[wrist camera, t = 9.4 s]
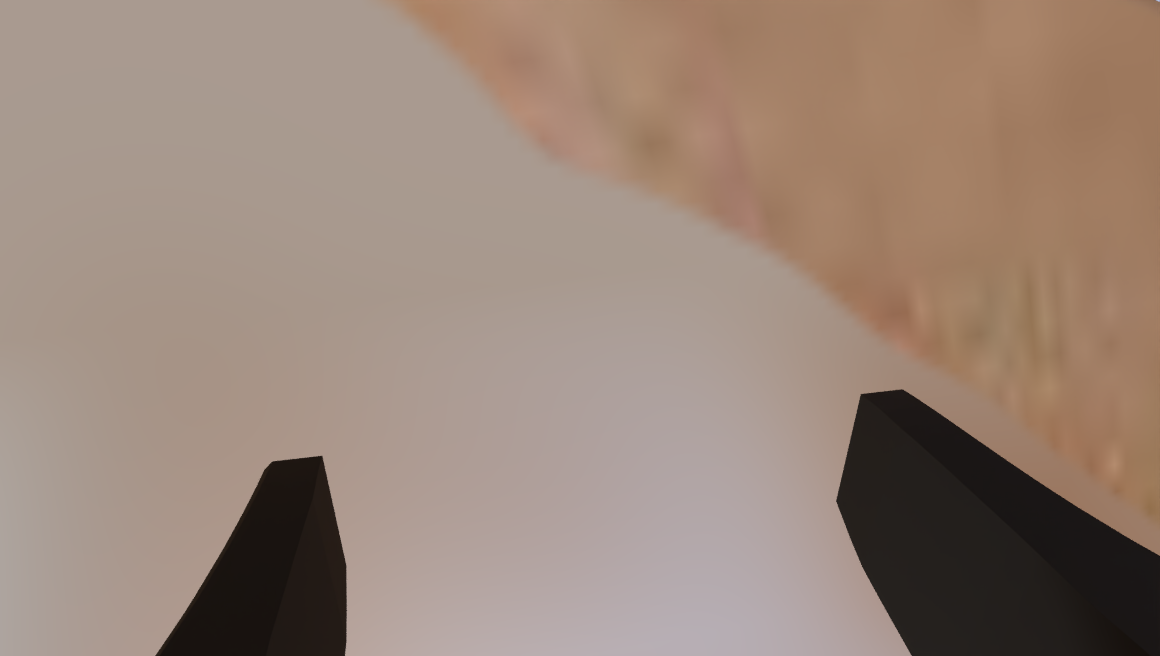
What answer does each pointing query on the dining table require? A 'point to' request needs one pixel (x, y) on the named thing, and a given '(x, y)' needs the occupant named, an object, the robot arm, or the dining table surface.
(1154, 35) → the dining table surface
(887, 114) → the dining table surface
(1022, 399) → the dining table surface
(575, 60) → the dining table surface
